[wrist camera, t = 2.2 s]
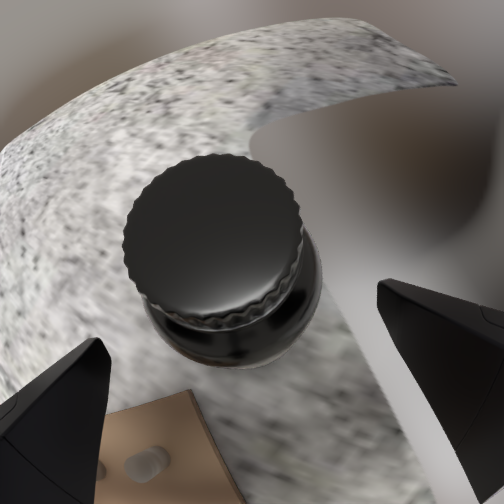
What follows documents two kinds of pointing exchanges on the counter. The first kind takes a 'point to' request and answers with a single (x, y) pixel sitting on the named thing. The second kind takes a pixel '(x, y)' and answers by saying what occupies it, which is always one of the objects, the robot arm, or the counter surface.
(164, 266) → the supplement bottle
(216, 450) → the peg stand
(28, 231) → the counter surface
